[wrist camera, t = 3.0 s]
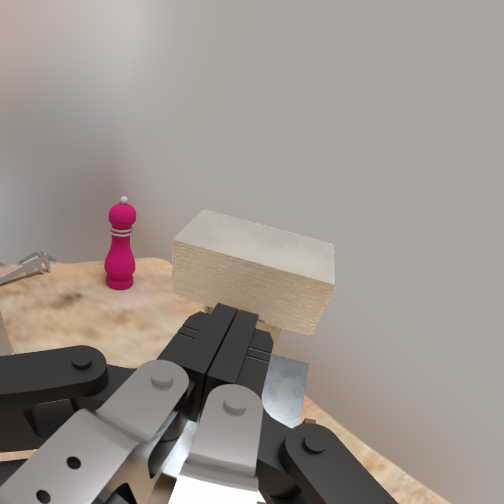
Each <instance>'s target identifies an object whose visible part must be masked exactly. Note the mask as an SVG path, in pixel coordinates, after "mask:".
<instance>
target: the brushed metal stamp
mask: <svg viewBox="0 0 504 504" xmlns="http://www.w3.org/2000/svg"><path fill="white" fill-rule="evenodd" d="M334 285H335V272H334V245H333V244H331V243H327V242H324V241H321V240H317V239H313V238H310V237H307V236H303V235H299V234H296V233H292V232H288V231H284V230H281V229H277V228H273V227H270V226H266V225H262V224H258V223H255V222H251V221H247V220H243V219H239V218H236V217H232V216H228V215H224V214H220V213H215V212H212V211H208V210H204V209H203V210H202V211H201V212H200V213H199V214H198V215H197V216H196V217H195V218H194V219H193V220H192V221H191V222H190V223H189V224H188V225H187V226H186V227H185V228H184V229H183V230H182V231H181V232H180V233H179V234H178V235H177V236H176V237H175V238H174V239H173V255H172V294H173V295H176V296H179V297H182V298H185V299H188V300H191V301H194V302H197V303H200V304H203V305H205V313H207V314H211V313H212V311H213V309H214V308H215V306H216V305H217V303H221V304H225V305H228V306H231V307H234V308H238V311H239V309H241V310H244V311H248V312H251V313H255V314H258V315H259V318H258V322H257V325H256V329H260V330H263V331H267V332H270V334H271V337H272V339H273V342H274V344H273V349H272V353H273V350H274V347H275V345H276V342H277V339H278V337H279V334H280V331H281V329H282V328H284V329H288V330H291V331H295V332H299V333H303V334H307V335H312V334H313V332H314V329H315V327H316V325H317V323H318V321H319V319H320V317H321V315H322V312H323V310H324V308H325V306H326V303H327V301H328V299H329V297H330V294H331V292H332V290H333V288H334ZM272 353H271V358H270V362H269V366H268V371H267V375H266V380H265V384H264V388H263V392H262V404H263V406H264V408H265V410H266V411H267V413H268V414H269V415H270V416H271V417H273V418H274V419H275V420H277V421H279V422H281V423H282V424H284V425H286V426H288V427H290V428H294V427H295V426H297V425H299V424H300V418H301V412H302V406H303V400H304V392H305V385H306V379H307V372H308V363H304V362H301V361H296V360H292V359H289V358H285V357H281V356H277V355H273V354H272ZM199 419H200V417H199ZM199 419H198V421H197V423H195V422H193V421H190V420H188V422H187V424H186V426H185V428H184V435H183V439H182V441H181V443H180V444H179V446H178V448H177V449H176V451H175V452H174V454H173V456H172V457H171V459H170V461H169V462H168V464H167V465H166V467H165V469H164V470H163V472H162V473H161V474H163V475H166V476H168V477H171V478H173V479H176V480H177V479H178V476H179V473H180V470H181V468H182V465H183V463H184V461H185V460H186V459H187V457H188V454H189V452H190V449H191V446H192V443H193V440H194V437H195V434H196V431H197V428H198V425H199ZM256 503H261V504H267V503H266V502H265V500H264V499H263V497H262V496H261V494H260V492H259V491H258V494H257V502H256Z"/></svg>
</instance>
